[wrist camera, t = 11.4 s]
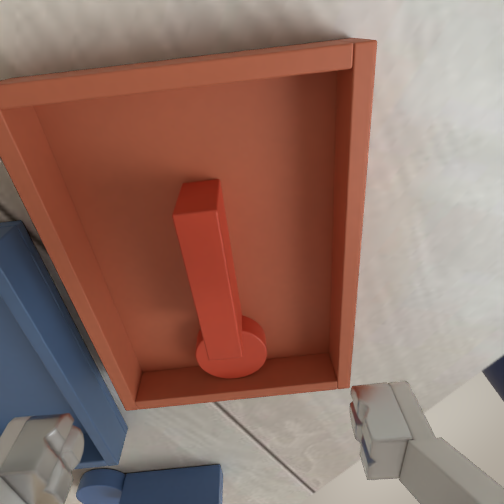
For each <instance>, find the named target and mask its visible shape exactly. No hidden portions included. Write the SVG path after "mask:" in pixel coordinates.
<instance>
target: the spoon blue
mask: <svg viewBox="0 0 504 504" xmlns="http://www.w3.org/2000/svg"><path fill="white" fill-rule="evenodd" d="M222 493H223V473H222V470H221V466H220V465H209V466H199V467H188V468H178V469H168V470H158V471H148V472H138V473H128V474H126V475H125V474H123V473H121V472H119V471H116V470H111V469H95V470H91V471H88V472H86V473H85V474H84V475H83V476H82V477H81V480H80V483H79V486H78V489H77V492H76V497H77V499H78V500H79V501H80V502H82V503H83V504H222Z"/></svg>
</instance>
